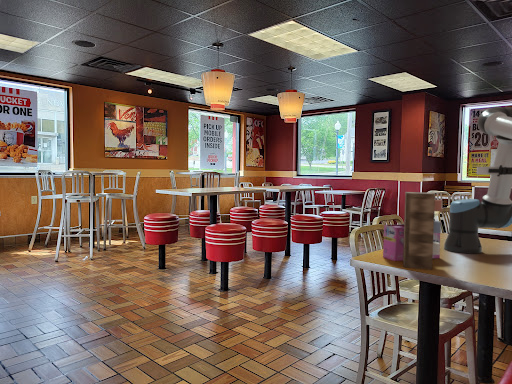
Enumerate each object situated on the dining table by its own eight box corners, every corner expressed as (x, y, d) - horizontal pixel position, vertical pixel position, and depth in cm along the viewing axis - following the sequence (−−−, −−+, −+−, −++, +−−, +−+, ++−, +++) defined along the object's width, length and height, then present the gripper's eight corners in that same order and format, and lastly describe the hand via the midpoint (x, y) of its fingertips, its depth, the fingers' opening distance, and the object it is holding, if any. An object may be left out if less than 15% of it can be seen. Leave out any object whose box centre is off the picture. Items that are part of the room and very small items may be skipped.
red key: (440, 210, 142) (440, 199, 142) (441, 211, 139) (441, 200, 138) (414, 209, 145) (414, 198, 145) (414, 210, 142) (415, 199, 141)
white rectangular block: (438, 252, 143) (438, 242, 143) (439, 255, 139) (440, 244, 139) (412, 250, 146) (412, 240, 146) (413, 252, 142) (413, 242, 142)
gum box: (428, 254, 166) (429, 223, 165) (442, 258, 158) (444, 225, 157) (382, 257, 158) (383, 224, 157) (395, 261, 150) (396, 227, 150)
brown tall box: (429, 263, 147) (432, 192, 146) (431, 269, 138) (435, 193, 136) (402, 261, 150) (405, 191, 149) (403, 267, 141) (406, 193, 139)
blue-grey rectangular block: (439, 231, 143) (439, 221, 143) (440, 233, 139) (441, 222, 139) (413, 230, 146) (413, 219, 145) (413, 231, 142) (414, 220, 142)
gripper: (564, 183, 122) (480, 181, 130) (548, 182, 135) (472, 180, 142) (565, 159, 122) (481, 159, 130) (549, 161, 134) (473, 160, 142)
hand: (477, 170), depth 136 cm, fingers closed
